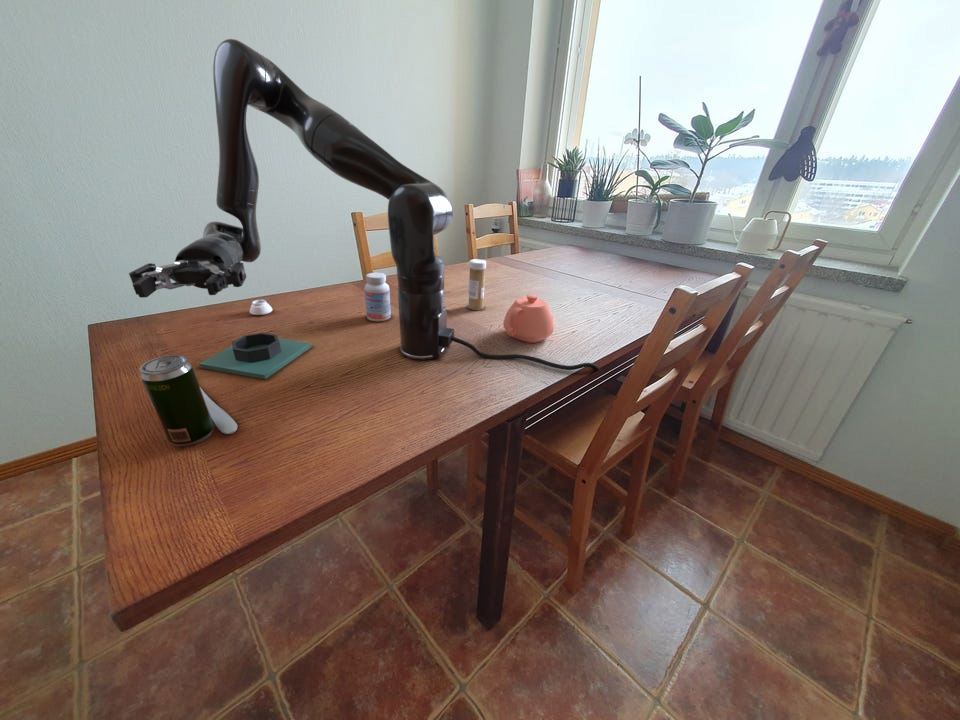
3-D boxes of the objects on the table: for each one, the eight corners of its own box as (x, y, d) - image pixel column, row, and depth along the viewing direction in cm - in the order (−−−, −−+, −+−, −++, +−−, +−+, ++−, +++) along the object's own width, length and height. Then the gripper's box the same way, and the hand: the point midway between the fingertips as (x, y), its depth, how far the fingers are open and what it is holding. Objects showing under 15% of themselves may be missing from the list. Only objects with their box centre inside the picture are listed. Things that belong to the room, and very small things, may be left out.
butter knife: (217, 436, 53) (240, 426, 55) (166, 370, 69) (185, 363, 71) (218, 440, 54) (241, 429, 56) (167, 372, 69) (186, 366, 71)
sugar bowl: (561, 336, 92) (568, 297, 87) (528, 353, 83) (533, 310, 78) (522, 321, 99) (526, 284, 94) (487, 336, 90) (490, 295, 85)
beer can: (210, 444, 53) (182, 371, 47) (164, 451, 51) (129, 376, 45) (218, 421, 57) (194, 352, 52) (176, 427, 56) (146, 356, 50)
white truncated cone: (246, 315, 93) (266, 316, 93) (243, 304, 92) (263, 305, 92) (257, 308, 98) (276, 309, 98) (254, 297, 96) (274, 299, 96)
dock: (311, 347, 80) (309, 332, 79) (265, 379, 68) (261, 363, 67) (254, 338, 83) (251, 323, 81) (200, 368, 71) (194, 351, 69)
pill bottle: (362, 319, 95) (357, 276, 90) (376, 311, 100) (373, 270, 95) (382, 323, 93) (378, 279, 88) (395, 316, 98) (393, 273, 93)
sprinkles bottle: (486, 309, 106) (489, 261, 100) (473, 311, 104) (475, 263, 98) (477, 304, 110) (480, 258, 103) (464, 306, 107) (466, 259, 101)
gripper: (154, 239, 63) (103, 264, 50) (249, 240, 68) (225, 263, 54) (169, 282, 67) (125, 317, 54) (258, 280, 71) (238, 311, 58)
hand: (175, 289), depth 54 cm, fingers open, 8 cm apart
